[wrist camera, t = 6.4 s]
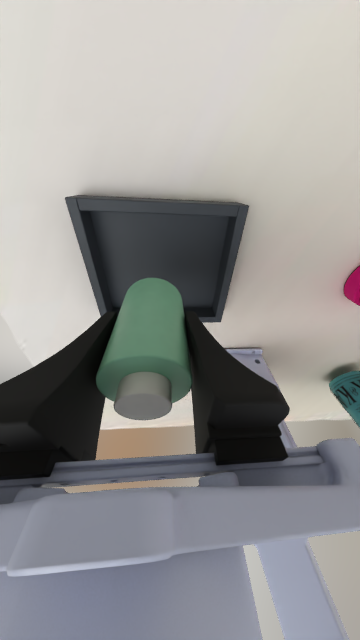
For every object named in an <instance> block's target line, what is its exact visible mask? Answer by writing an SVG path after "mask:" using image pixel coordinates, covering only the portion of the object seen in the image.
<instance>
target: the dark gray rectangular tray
mask: <svg viewBox="0 0 360 640" xmlns="http://www.w3.org/2000/svg"><path fill="white" fill-rule="evenodd" d="M65 200H66V204H67V207H68V210H69V213H70V217H71V220H72V223H73V227H74V230H75V233H76V236H77V240H78V243H79V246H80V250H81V253H82V256H83V259H84V263H85V266H86V269H87V273H88V276H89V279H90V282H91V286H92V289H93V292H94V296H95V299H96V302H97V305H98V309H99V312H100V315H101V317H102V316H103V315H104V314H105V313H106V312H117V316H118V314H119V312H120V309H121V306H122V303H123V301H124V298H125V295H126V293H127V291H128V289H129V288H130V286H131V285H133V284H134V283H135V282H137V281H139V280H142V279H145V278H159V279H163V280H166V281H168V282H169V283H171V284H172V285H174V286H175V287H176V288H177V290H178V291H179V293H180V294H181V297H182V303H183V310H184V318H185V311H194V312H195V313H196V314H197V316H198V317H199V319H200V320H201V322H221V319H222V315H223V311H224V307H225V303H226V299H227V295H228V290H229V286H230V282H231V278H232V274H233V270H234V266H235V262H236V258H237V253H238V249H239V245H240V241H241V237H242V233H243V229H244V225H245V221H246V216H247V212H248V208H249V206H248V205H245V204H242V203H237V202H215V201H194V200H172V199H151V198H129V197H107V196H86V195H77V196H70V197H65Z"/></svg>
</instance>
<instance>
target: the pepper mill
mask: <svg viewBox="0 0 360 640" xmlns="http://www.w3.org/2000/svg"><path fill="white" fill-rule="evenodd" d="M344 294H345V296H346V297H347V298H348V299H349V300H351V301H352V302H354V303H356V304H357V305H359V306H360V266H359V267H358V268H357V269H356V270H355V271H354V272H353V273H352V274H351V275H350V277H349V278H348V279H347V281H346V284H345V286H344Z"/></svg>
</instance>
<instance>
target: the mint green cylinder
mask: <svg viewBox="0 0 360 640" xmlns="http://www.w3.org/2000/svg"><path fill="white" fill-rule="evenodd" d="M192 383H193V378H192V371H191V363H190V356H189V348H188V340H187V333H186V326H185V318H184V310H183V303H182V297H181V294H180V293H179V291H178V290H177V288H176V287H175V286H174V285H172V284H171V283H169V282H168V281H166V280H163V279H159V278H145V279H142V280H139V281H137V282H135V283H134V284H133V285H131V286H130V288H129V289H128V291H127V293H126V295H125V298H124V301H123V303H122V306H121V309H120V312H119V314H118V317H117V320H116V323H115V325H114V328H113V331H112V334H111V336H110V339H109V342H108V345H107V347H106V350H105V353H104V356H103V358H102V361H101V364H100V367H99V369H98V372H97V375H96V385H97V387H98V389H99V391H100V392H101V393H102V394H103V395H104V396H105V397H107V398H108V399H110V400H112V401H114V409H115V411H116V412H117V413H118V414H119V415H121V416H123V417H126V418H129V419H134V420H151V419H156V418H160V417H163V416H165V415H166V414H168V413H169V412H170V411H171V408H172V403H174V402H176V401H178V400H180V399H182V398H183V397H184V396H185V395H187V394H188V392H189V391H190V389H191V387H192Z"/></svg>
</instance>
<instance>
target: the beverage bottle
mask: <svg viewBox="0 0 360 640" xmlns="http://www.w3.org/2000/svg"><path fill="white" fill-rule="evenodd" d="M329 387H330V389H331V391H332V394H333V393H334V395H335V396H336V399H338V400H339V403H340V404H342V405H343V406H342V407H343V408H345V409H346V411H347V412H348V413H349V414H350V415H351V417H352V419H354V421H355V422H356V423H357V425H358V426H359V427H360V371H352V372H348V373H345V374H342V375H340V376H338V377H336V378H334V379H333V380H332V381H331V382H330V383H329Z"/></svg>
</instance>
